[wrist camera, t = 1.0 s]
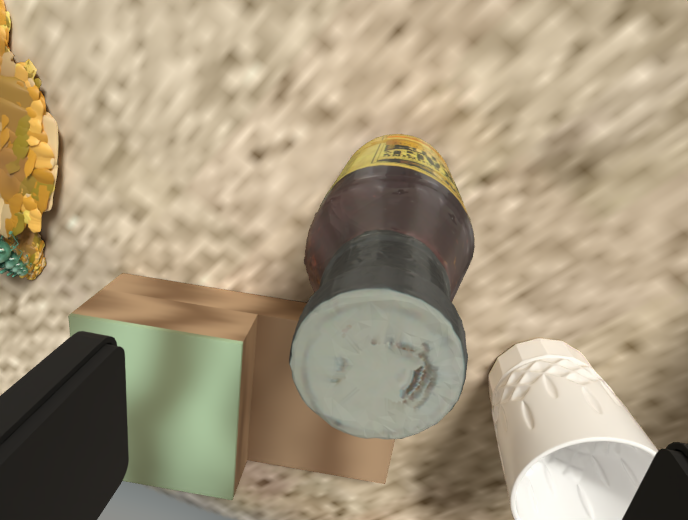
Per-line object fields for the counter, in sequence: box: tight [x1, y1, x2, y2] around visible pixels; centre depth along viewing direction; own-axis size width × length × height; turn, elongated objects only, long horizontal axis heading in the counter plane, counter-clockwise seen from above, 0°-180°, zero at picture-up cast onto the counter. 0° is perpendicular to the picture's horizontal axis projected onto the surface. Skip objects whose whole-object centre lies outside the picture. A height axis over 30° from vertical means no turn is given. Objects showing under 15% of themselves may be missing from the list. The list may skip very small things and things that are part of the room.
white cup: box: [488, 338, 659, 520], centre depth 29 cm, size 8×8×10 cm
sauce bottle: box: [289, 134, 474, 439], centre depth 20 cm, size 7×6×20 cm
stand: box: [68, 273, 395, 500], centre depth 32 cm, size 20×12×6 cm, turn 82°
